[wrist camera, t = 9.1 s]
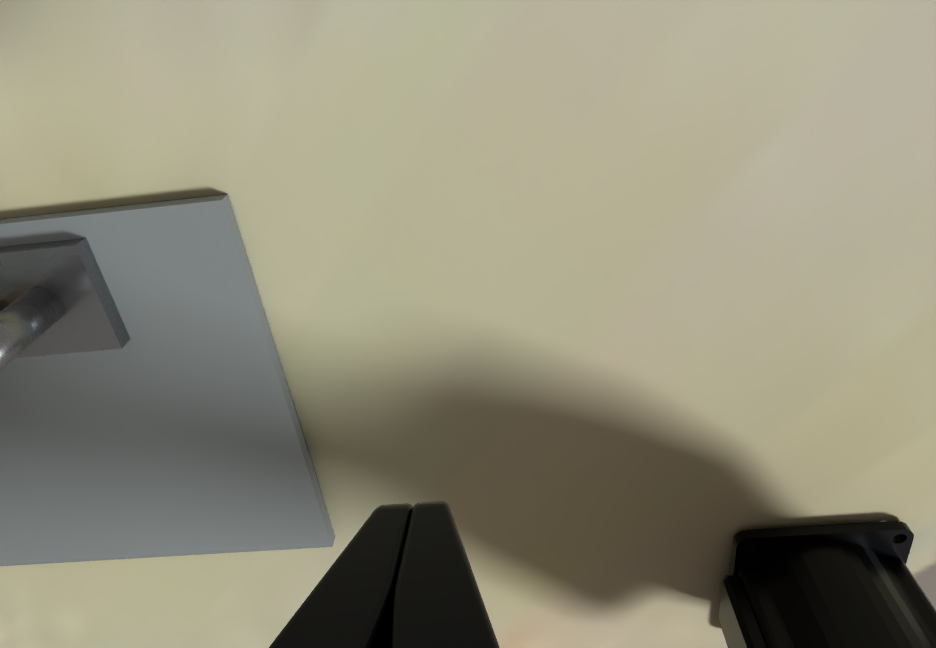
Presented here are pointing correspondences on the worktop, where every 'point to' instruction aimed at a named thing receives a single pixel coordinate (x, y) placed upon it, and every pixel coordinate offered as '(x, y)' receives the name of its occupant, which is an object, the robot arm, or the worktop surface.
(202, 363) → the yard mat
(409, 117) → the worktop surface
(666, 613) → the worktop surface
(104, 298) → the post on square base
